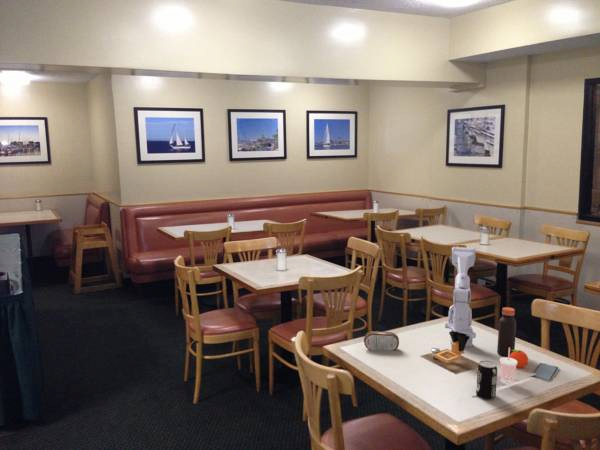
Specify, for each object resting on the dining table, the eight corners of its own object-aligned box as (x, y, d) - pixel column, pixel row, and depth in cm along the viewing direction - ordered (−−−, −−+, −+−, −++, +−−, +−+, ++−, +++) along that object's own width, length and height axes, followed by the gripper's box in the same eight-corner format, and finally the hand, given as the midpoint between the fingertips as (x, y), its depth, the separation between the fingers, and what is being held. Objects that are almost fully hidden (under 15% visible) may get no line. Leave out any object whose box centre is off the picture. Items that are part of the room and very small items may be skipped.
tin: (398, 350, 227) (399, 331, 226) (399, 353, 224) (399, 334, 222) (363, 348, 228) (364, 330, 227) (363, 351, 225) (364, 332, 224)
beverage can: (473, 391, 188) (474, 360, 187) (490, 391, 189) (492, 359, 187) (480, 400, 182) (482, 367, 180) (499, 400, 182) (501, 367, 181)
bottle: (496, 355, 221) (499, 310, 218) (497, 350, 227) (500, 305, 224) (514, 358, 219) (517, 312, 216) (514, 352, 225) (517, 307, 222)
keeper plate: (447, 350, 226) (447, 348, 226) (484, 367, 209) (484, 365, 209) (419, 357, 218) (419, 356, 218) (455, 375, 201) (455, 373, 201)
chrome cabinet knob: (435, 356, 218) (435, 347, 218) (441, 359, 215) (441, 350, 215) (429, 357, 217) (429, 348, 216) (435, 360, 214) (435, 351, 213)
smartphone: (529, 376, 201) (539, 362, 213) (529, 378, 201) (539, 364, 213) (550, 381, 197) (559, 367, 208) (550, 383, 197) (559, 369, 209)
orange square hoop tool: (455, 349, 217) (455, 338, 216) (468, 355, 211) (468, 343, 210) (435, 357, 212) (434, 345, 211) (447, 363, 206) (447, 351, 205)
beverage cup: (514, 388, 191) (516, 352, 189) (496, 384, 194) (498, 348, 192) (517, 382, 196) (519, 346, 194) (500, 378, 200) (502, 343, 197)
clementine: (503, 366, 210) (504, 349, 209) (510, 361, 215) (511, 345, 214) (523, 372, 205) (525, 355, 204) (530, 367, 210) (531, 350, 209)
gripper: (440, 314, 215) (438, 345, 217) (467, 324, 203) (465, 357, 205) (452, 311, 219) (451, 342, 221) (480, 321, 206) (478, 354, 208)
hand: (459, 349), depth 213 cm, fingers closed on orange square hoop tool
